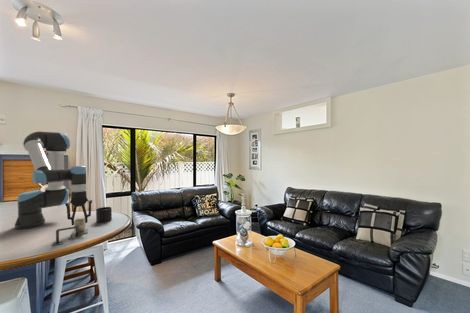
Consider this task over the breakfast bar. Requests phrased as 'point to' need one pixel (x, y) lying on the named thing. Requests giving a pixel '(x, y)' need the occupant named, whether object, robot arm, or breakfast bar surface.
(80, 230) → the beech peg
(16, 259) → the breakfast bar surface
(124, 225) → the breakfast bar surface
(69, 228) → the wire
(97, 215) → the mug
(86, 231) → the coaster
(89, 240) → the breakfast bar surface
